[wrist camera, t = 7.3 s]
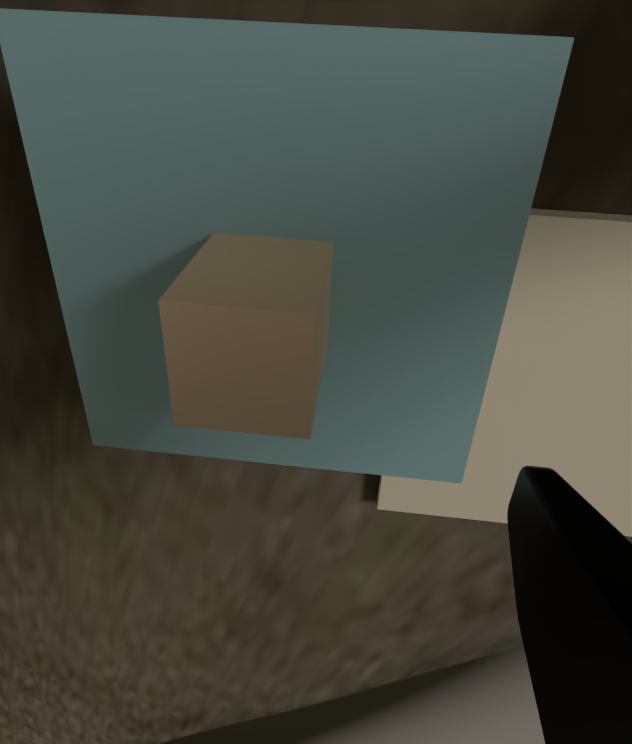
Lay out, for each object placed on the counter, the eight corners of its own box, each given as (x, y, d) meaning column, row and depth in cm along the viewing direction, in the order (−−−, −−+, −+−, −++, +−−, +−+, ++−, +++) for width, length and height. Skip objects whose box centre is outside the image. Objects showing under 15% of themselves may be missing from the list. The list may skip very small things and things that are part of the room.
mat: (856, 231, 18) (874, 239, 17) (681, 529, 25) (690, 542, 25) (419, 200, 19) (420, 206, 18) (377, 496, 26) (377, 509, 25)
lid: (560, 36, 12) (660, 43, 7) (458, 462, 18) (480, 594, 14) (18, 9, 12) (-169, 1, 8) (105, 426, 19) (26, 541, 15)
